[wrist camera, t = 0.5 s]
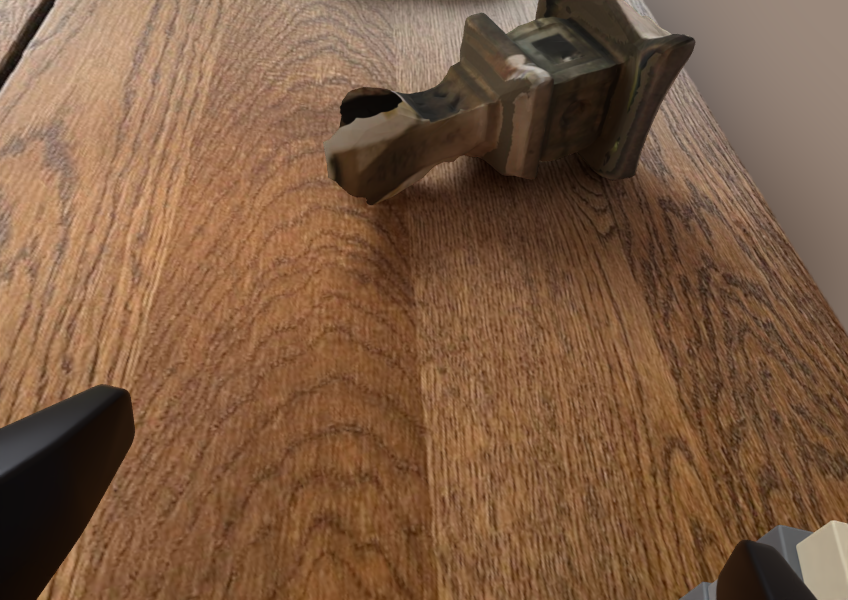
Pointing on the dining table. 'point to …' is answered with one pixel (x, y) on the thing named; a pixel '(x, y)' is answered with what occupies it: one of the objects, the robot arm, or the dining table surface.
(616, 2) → the sculpture
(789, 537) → the grey books
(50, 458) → the robot arm
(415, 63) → the dining table surface
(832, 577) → the cream book
